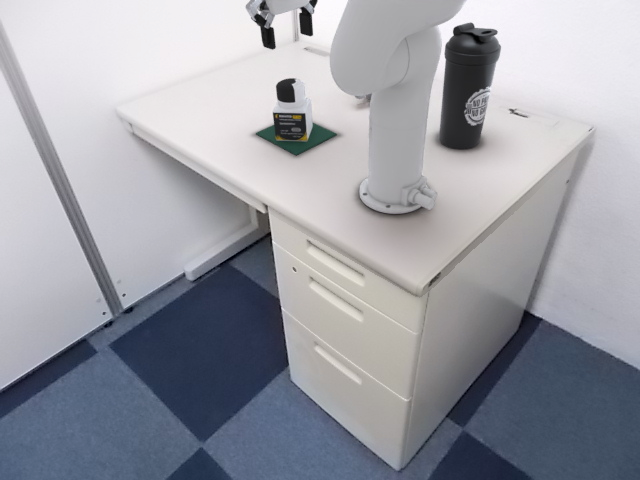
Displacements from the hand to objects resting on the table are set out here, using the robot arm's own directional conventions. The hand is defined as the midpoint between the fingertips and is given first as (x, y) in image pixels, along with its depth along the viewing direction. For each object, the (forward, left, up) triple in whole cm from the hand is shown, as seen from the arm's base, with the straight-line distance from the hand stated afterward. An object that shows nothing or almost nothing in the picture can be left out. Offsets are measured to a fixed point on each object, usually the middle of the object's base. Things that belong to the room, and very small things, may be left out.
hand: (288, 41), depth 97 cm
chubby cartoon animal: (-1, -24, -21) cm, 32 cm away
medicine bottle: (0, +1, -20) cm, 20 cm away
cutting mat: (0, 0, -21) cm, 21 cm away
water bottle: (-28, -22, -21) cm, 41 cm away
